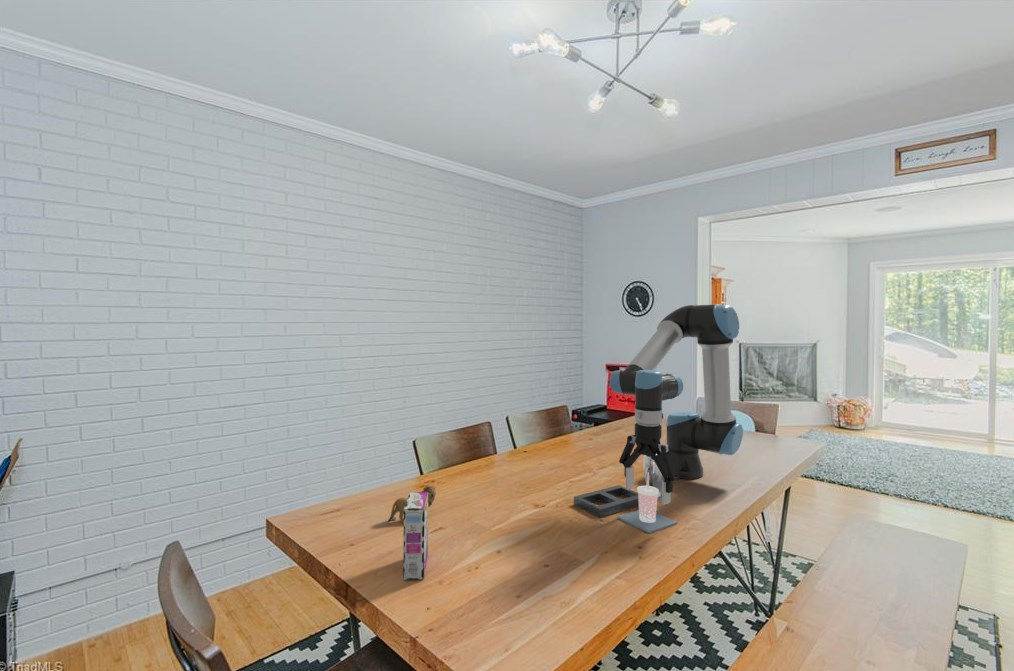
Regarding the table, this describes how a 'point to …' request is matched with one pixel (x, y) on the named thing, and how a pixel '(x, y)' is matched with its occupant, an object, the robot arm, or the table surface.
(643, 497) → the beverage cup
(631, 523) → the slate mat
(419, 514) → the candy bar box
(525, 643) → the table surface
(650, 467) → the silver metal tumbler
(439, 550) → the table surface
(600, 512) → the dark grey slotted frame
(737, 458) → the table surface
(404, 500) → the lion figurine
